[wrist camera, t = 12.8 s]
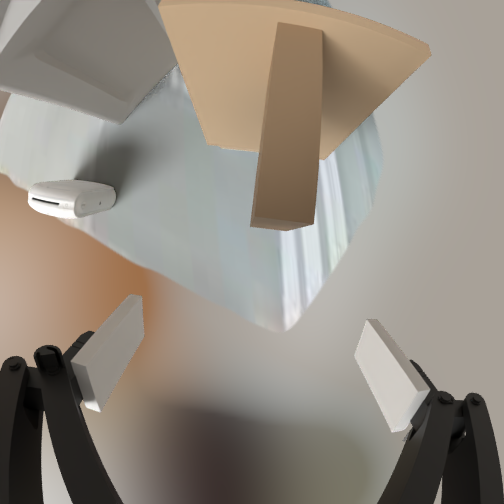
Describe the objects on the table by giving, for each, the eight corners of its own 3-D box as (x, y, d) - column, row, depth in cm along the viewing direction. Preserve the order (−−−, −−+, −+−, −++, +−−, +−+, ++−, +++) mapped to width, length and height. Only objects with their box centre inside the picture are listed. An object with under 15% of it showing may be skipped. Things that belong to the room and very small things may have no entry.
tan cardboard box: (162, -3, 8) (95, 198, 8) (428, 44, 8) (449, 244, 8) (208, 138, 27) (195, 227, 28) (324, 153, 28) (316, 242, 28)
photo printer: (119, 185, 38) (74, 189, 26) (115, 211, 39) (71, 225, 27) (70, 177, 38) (22, 181, 26) (67, 201, 39) (20, 212, 27)
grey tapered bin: (147, 7, 30) (80, -86, 3) (203, 40, 32) (154, -86, 5) (73, 84, 33) (-42, 43, 6) (119, 127, 36) (-21, 89, 9)
